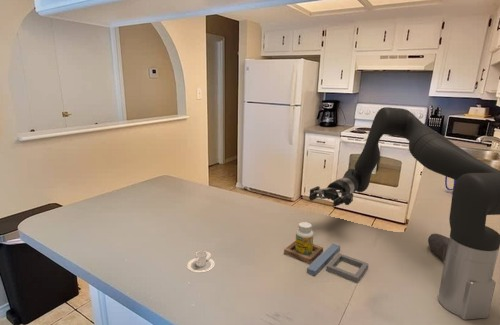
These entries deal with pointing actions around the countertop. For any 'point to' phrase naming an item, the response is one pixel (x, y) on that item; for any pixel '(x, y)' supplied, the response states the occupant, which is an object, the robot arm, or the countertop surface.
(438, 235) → the perforated stone tool
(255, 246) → the countertop surface
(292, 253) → the holder
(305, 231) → the supplement bottle
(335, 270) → the holder open
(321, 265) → the door sill
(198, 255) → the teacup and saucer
